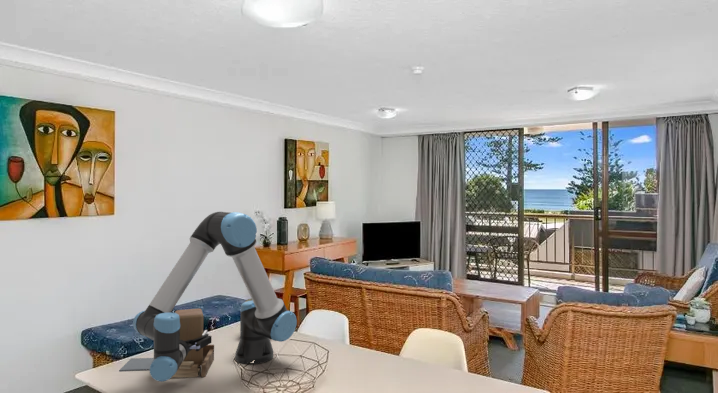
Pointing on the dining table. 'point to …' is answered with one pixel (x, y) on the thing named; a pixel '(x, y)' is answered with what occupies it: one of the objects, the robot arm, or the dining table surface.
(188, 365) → the brown wooden tray
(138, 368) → the felt pad
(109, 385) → the dining table surface
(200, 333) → the wooden block
